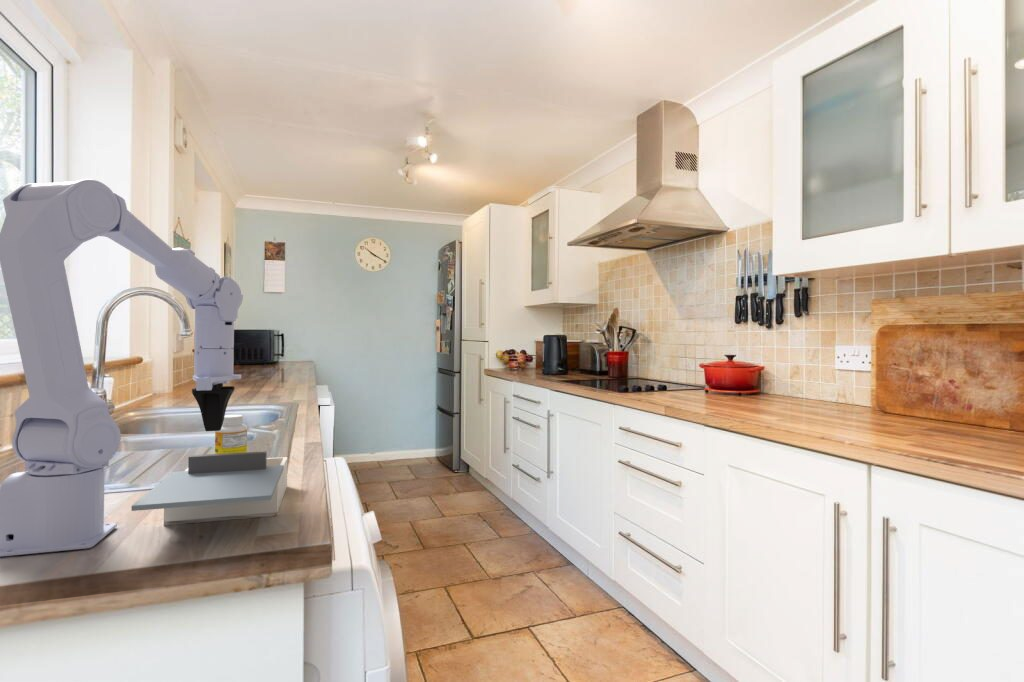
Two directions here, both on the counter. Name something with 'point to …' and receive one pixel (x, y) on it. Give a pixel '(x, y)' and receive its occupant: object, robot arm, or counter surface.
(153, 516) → the counter surface
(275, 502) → the box
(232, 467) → the lid
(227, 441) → the supplement bottle
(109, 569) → the counter surface
